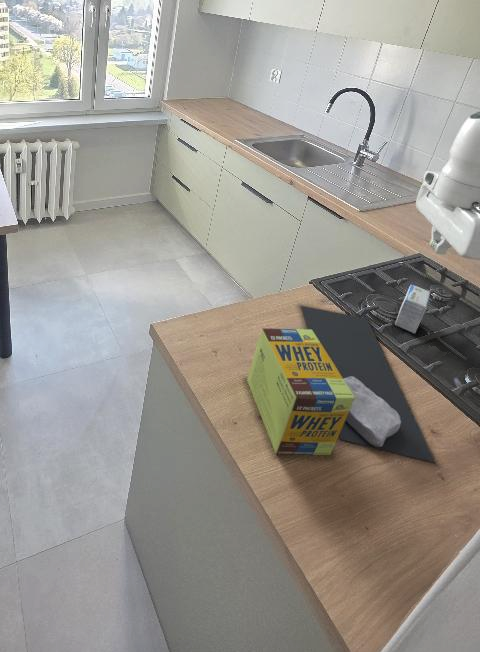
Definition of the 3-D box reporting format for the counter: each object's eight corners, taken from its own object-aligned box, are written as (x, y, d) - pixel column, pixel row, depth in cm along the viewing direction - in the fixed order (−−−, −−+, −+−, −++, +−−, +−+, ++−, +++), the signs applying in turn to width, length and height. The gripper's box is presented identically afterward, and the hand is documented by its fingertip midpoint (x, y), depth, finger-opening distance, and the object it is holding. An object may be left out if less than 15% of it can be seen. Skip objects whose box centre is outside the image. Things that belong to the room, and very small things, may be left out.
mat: (366, 318, 108) (367, 318, 107) (435, 463, 75) (435, 462, 75) (300, 306, 111) (300, 305, 111) (339, 439, 79) (339, 439, 79)
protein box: (275, 456, 75) (296, 398, 69) (246, 380, 89) (260, 326, 83) (332, 456, 76) (357, 398, 69) (293, 381, 90) (312, 327, 84)
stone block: (343, 386, 91) (316, 398, 86) (353, 370, 89) (326, 381, 84) (399, 437, 81) (373, 454, 76) (411, 420, 80) (385, 436, 75)
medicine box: (414, 334, 103) (427, 308, 100) (393, 324, 106) (405, 298, 102) (419, 317, 109) (431, 291, 105) (399, 308, 111) (410, 283, 108)
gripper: (518, 222, 71) (484, 286, 76) (454, 172, 89) (430, 227, 95) (475, 216, 72) (445, 279, 78) (421, 168, 90) (399, 222, 96)
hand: (436, 250), depth 86 cm, fingers closed
